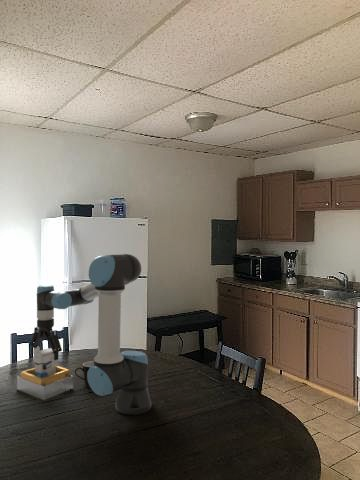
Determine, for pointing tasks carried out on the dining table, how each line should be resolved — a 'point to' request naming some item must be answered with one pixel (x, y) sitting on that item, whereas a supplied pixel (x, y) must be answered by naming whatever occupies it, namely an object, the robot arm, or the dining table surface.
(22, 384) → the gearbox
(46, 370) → the ink box
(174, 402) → the dining table surface
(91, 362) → the coffee mug
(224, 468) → the dining table surface
